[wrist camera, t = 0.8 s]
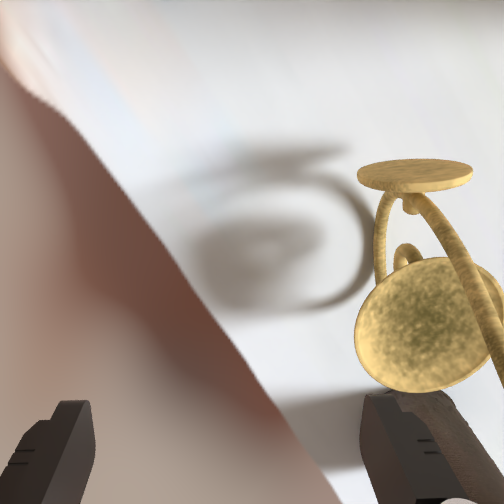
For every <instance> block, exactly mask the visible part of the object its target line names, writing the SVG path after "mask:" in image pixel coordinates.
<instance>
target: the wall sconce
mask: <svg viewBox="0 0 504 504" xmlns="http://www.w3.org/2000/svg"><path fill="white" fill-rule="evenodd" d="M472 174H473V169H472V167H471V166H469V165H467V164H464V163H461V162H456V161H450V160H440V159H402V160H392V161H384V162H378V163H374V164H370V165H367V166H364V167H362V168H360V169H359V170H358V172H357V178H358V181H359V182H360V183H361V184H363V185H364V186H366V187H369V188H372V189H376V190H381V191H385V193H384V194H383V196H382V198H381V200H380V203H379V206H378V209H377V213H376V218H375V225H374V239H373V255H374V272H375V281H376V287H375V288H374V289H373V290H372V291H371V292H370V294H369V295H368V296H367V298H366V299H365V301H364V303H363V305H362V306H361V308H360V310H359V313H358V316H357V319H356V324H355V330H354V343H355V349H356V353H357V356H358V358H359V361H360V363H361V364H362V366H363V368H364V369H365V370H366V371H367V373H368V374H369V375H370V376H371V377H372V378H374V379H375V380H376V381H377V382H379V383H381V384H382V385H384V386H386V387H389V388H391V389H394V390H398V391H402V392H408V393H426V392H433V391H438V390H441V389H445V388H448V387H450V386H453V385H455V384H457V383H459V382H461V381H463V380H465V379H466V378H468V377H470V376H471V375H473V374H474V373H475V372H476V371H478V370H479V369H480V368H481V367H482V366H483V365H484V364H485V363H486V362H487V361H488V360H489V359H490V357H491V359H492V361H493V364H494V366H495V369H496V371H497V374H498V376H499V378H500V381H501V383H502V386H503V388H504V293H503V290H502V288H501V286H500V285H499V283H498V282H497V280H496V279H495V278H494V277H493V276H492V275H491V274H490V273H489V272H488V271H486V270H485V269H484V268H482V267H480V266H478V265H477V264H475V263H474V262H473V260H472V259H471V257H470V255H469V253H468V251H467V250H466V248H465V246H464V245H463V243H462V241H461V240H460V238H459V236H458V235H457V233H456V232H455V230H454V229H453V227H452V226H451V224H450V223H449V221H448V220H447V219H446V217H445V216H444V215H443V214H442V212H441V211H440V210H439V209H438V207H437V206H436V205H435V204H434V203H433V202H432V201H431V200H430V199H429V198H428V197H426V196H425V192H434V191H441V190H447V189H451V188H455V187H458V186H461V185H463V184H465V183H467V182H468V181H469V180H470V179H471V177H472ZM397 198H401V199H403V210H404V212H406V213H407V214H410V215H416V214H419V213H420V214H421V215H422V216H423V218H424V219H425V220H426V222H427V223H428V224H429V226H430V227H431V229H432V230H433V232H434V233H435V235H436V237H437V238H438V240H439V241H440V243H441V245H442V247H443V248H444V250H445V252H446V254H447V256H448V257H433V258H428V259H423V257H422V255H421V254H420V252H419V251H418V249H417V248H416V247H415V246H413V245H411V244H408V243H407V244H401V245H400V246H399V247H398V248H397V249H396V251H395V254H394V263H393V268H394V272H392V273H391V274H390V275H388V276H387V273H386V254H385V245H386V229H387V222H388V217H389V213H390V210H391V207H392V205H393V203H394V201H395V200H396V199H397ZM407 261H408V263H409V264H408V265H407Z"/></svg>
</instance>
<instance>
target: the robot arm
mask: <svg viewBox="0 0 504 504" xmlns="http://www.w3.org/2000/svg"><path fill="white" fill-rule="evenodd" d="M359 440H360V451H361V455H362V459H363V462H364V464H365V467H366V470H367V473H368V476H369V478H370V481H371V484H372V487H373V489H374V492H375V495H376V498H377V501H378V503H379V504H477V503H475V502H472V501H470V499H469V498H468V496H467V494H466V493H465V491H464V489H463V487H462V486H461V484H460V482H459V480H458V479H457V477H456V475H455V473H454V472H453V470H452V468H451V466H450V465H449V463H448V461H447V460H446V458H445V456H444V454H442V451H441V449H440V447H439V446H438V444H437V442H435V439H434V437H433V435H432V434H431V432H430V430H429V428H428V427H427V425H426V424H425V423H424V422H423V421H422V420H421V419H420V418H418V417H417V416H416V415H415V414H414V413H413V412H402V410H401V408H400V407H399V405H398V403H397V401H396V399H395V397H394V396H393V395H392V394H374V395H366V396H365V399H364V406H363V413H362V421H361V428H360V438H359ZM94 458H95V435H94V428H93V421H92V414H91V406H90V402H89V401H88V400H70V401H60V403H59V404H58V406H57V407H56V409H55V411H54V413H53V415H52V417H51V419H50V420H39V421H38V422H37V423H36V424H35V425H33V426H32V427H31V428H30V429H29V430H28V431H27V432H26V433H25V434H24V435H23V437H22V439H21V440H20V442H19V444H18V446H17V448H16V449H15V453H13V455H12V456H11V458H10V460H9V462H8V466H6V467H5V469H4V471H3V473H2V474H1V476H0V504H80V502H81V499H82V496H83V493H84V490H85V487H86V484H87V481H88V478H89V476H90V472H91V470H92V466H93V463H94Z"/></svg>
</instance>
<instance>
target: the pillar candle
mask: <svg viewBox="0 0 504 504" xmlns="http://www.w3.org/2000/svg"><path fill="white" fill-rule="evenodd" d="M385 394H392V395H393V396H394V397H395V399H396V401H397V403H398V405H399V407H400V408H401V410H402V412H413V413H414V414H415V415H416V416H417V417H418V418H420V419H421V420H422V421H423V422H424V423H425V424H426V425H427V427H428V428H429V430H430V432H431V434H432V435H433V437H434V439H435V442H437V444H438V446H439V447H440V449H441V451H442V454H444V456H445V458H446V460H447V461H448V463H449V465H450V466H451V468H452V470H453V472H454V473H455V475H456V477H457V479H458V480H459V482H460V484H461V486H462V487H463V489H464V491H465V493H466V494H467V496H468V498H469V499H470V501H472V502H475V503H477V504H504V476H503V475H502V474H501V472H500V470H499V469H498V467H497V466H496V464H495V463H494V461H493V460H492V459H491V457H490V456H489V455H488V453H487V452H486V450H485V449H484V447H483V446H482V444H481V443H480V441H479V440H478V438H477V437H476V435H475V434H474V433H473V431H472V429H471V428H470V427H469V426H468V423H467V421H465V419H464V418H463V417H462V416H461V414H460V413H459V412H458V410H457V409H456V406H455V404H454V402H453V401H452V399H451V398H450V397H449V396H448V395H447V394H446V393H444V392H443V391H441V390H438V391H433V392H426V393H408V392H402V391H398V390H392V391H389V392H387V393H385Z"/></svg>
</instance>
